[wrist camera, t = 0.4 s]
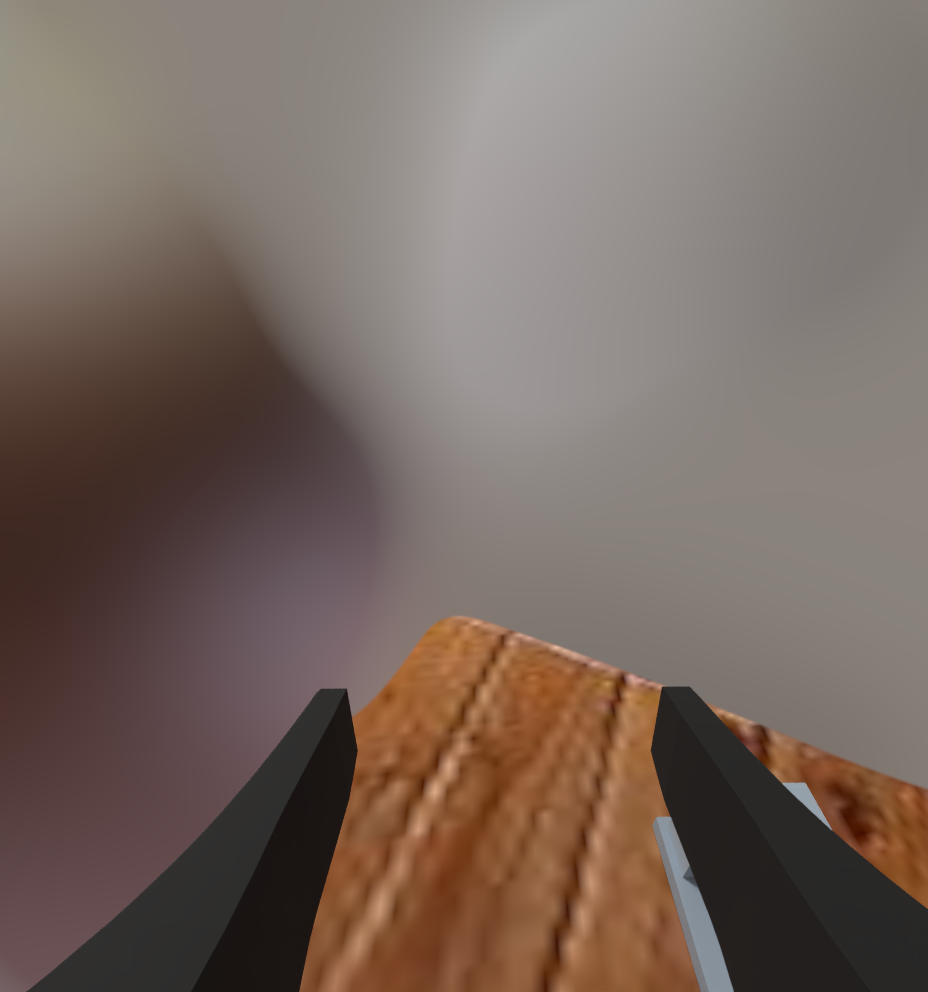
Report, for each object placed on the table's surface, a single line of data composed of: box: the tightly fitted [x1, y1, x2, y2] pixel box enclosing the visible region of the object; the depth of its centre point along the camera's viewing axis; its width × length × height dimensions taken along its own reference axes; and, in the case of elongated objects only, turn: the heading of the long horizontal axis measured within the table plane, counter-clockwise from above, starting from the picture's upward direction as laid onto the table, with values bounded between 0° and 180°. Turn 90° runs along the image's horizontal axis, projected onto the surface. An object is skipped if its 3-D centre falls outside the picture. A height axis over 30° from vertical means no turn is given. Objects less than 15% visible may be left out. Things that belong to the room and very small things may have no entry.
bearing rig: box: [653, 783, 832, 992], centre depth 21 cm, size 10×6×6 cm, turn 0°
